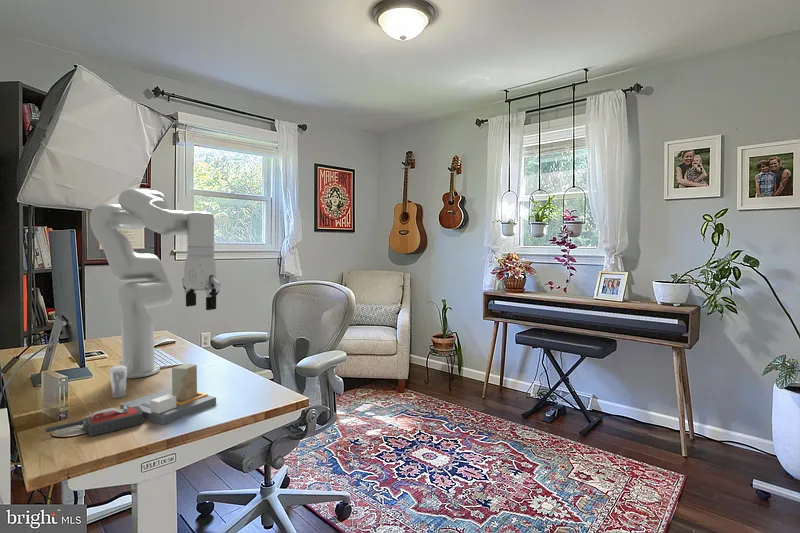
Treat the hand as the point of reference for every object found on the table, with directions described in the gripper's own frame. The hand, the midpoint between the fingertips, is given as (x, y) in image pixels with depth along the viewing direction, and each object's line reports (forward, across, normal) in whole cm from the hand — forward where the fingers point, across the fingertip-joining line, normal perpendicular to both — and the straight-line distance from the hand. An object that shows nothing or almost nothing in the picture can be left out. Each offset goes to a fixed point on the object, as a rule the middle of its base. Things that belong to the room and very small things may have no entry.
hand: (200, 307), depth 137 cm
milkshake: (+26, -13, -17) cm, 34 cm away
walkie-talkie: (+25, +6, -32) cm, 41 cm away
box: (+25, +9, -12) cm, 29 cm away
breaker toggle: (+23, +13, -20) cm, 33 cm away
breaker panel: (+25, +8, -15) cm, 30 cm away
